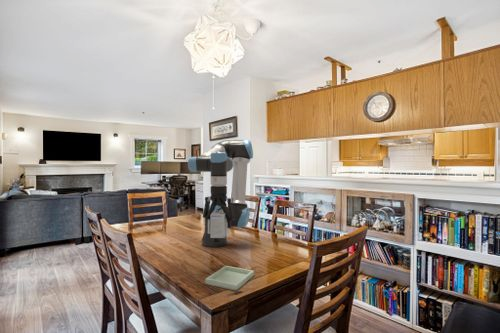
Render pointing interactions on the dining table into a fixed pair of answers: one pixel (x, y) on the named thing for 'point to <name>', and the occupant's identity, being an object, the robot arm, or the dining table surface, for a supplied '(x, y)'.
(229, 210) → the robot arm
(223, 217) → the light bulb box
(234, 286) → the tray
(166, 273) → the dining table surface
